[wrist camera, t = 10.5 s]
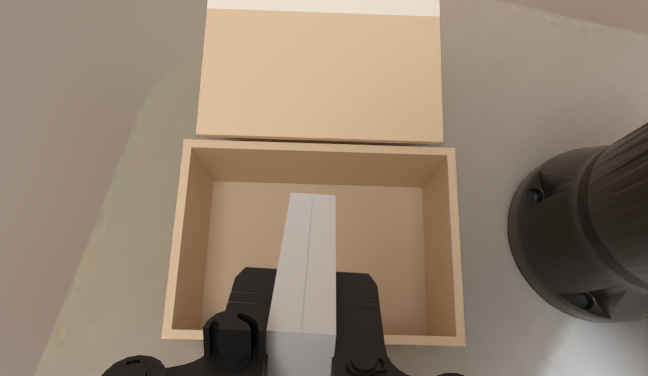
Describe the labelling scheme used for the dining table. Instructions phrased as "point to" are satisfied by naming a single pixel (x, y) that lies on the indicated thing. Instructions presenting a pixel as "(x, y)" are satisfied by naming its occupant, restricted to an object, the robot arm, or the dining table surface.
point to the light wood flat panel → (322, 71)
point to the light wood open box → (351, 228)
